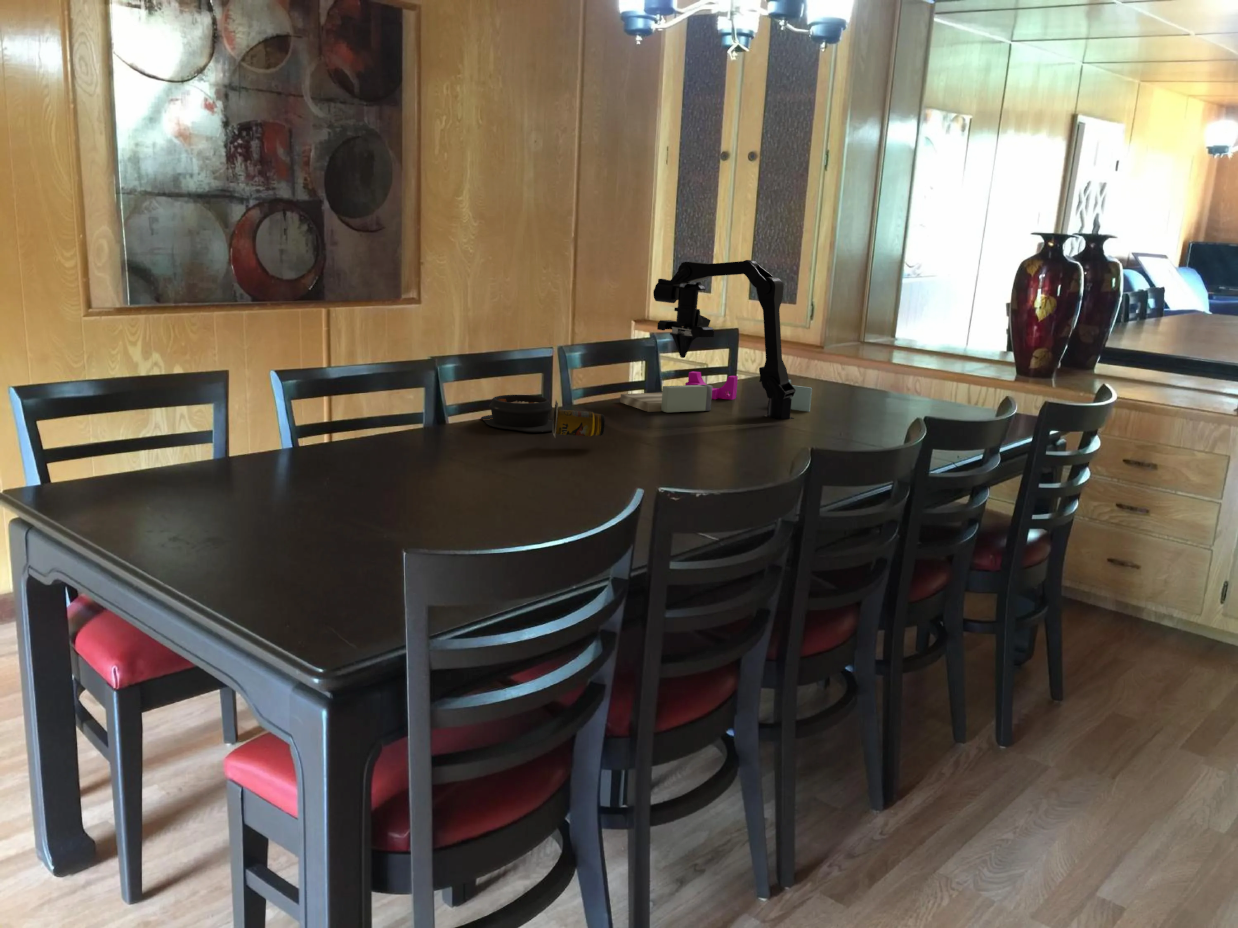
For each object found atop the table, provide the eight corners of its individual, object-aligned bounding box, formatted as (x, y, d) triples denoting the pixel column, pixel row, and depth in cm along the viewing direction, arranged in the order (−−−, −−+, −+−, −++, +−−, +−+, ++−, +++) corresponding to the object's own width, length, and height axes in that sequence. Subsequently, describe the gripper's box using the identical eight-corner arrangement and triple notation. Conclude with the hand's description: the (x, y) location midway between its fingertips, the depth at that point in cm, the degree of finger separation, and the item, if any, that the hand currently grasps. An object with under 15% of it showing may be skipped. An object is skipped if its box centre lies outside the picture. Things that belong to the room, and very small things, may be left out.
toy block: (684, 396, 306) (686, 373, 305) (691, 394, 312) (692, 371, 310) (729, 402, 300) (731, 378, 299) (735, 399, 306) (737, 376, 304)
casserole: (464, 425, 261) (464, 394, 260) (518, 419, 274) (519, 389, 272) (522, 441, 244) (523, 409, 242) (577, 434, 257) (578, 403, 255)
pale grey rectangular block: (706, 408, 284) (708, 384, 282) (712, 410, 281) (714, 386, 279) (660, 410, 276) (662, 386, 274) (667, 412, 273) (668, 387, 272)
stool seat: (706, 409, 284) (707, 400, 284) (648, 411, 274) (648, 403, 274) (676, 400, 298) (677, 392, 297) (620, 402, 288) (620, 394, 287)
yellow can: (554, 438, 231) (604, 441, 234) (557, 403, 230) (607, 406, 232) (551, 432, 238) (599, 435, 241) (554, 398, 237) (602, 401, 239)
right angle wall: (808, 413, 289) (811, 388, 288) (771, 407, 295) (773, 383, 293) (822, 408, 299) (824, 384, 298) (786, 403, 305) (788, 379, 304)
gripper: (729, 308, 285) (724, 361, 288) (684, 302, 298) (680, 352, 302) (702, 308, 277) (697, 362, 281) (658, 301, 291) (653, 353, 294)
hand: (682, 357), depth 290 cm, fingers closed
